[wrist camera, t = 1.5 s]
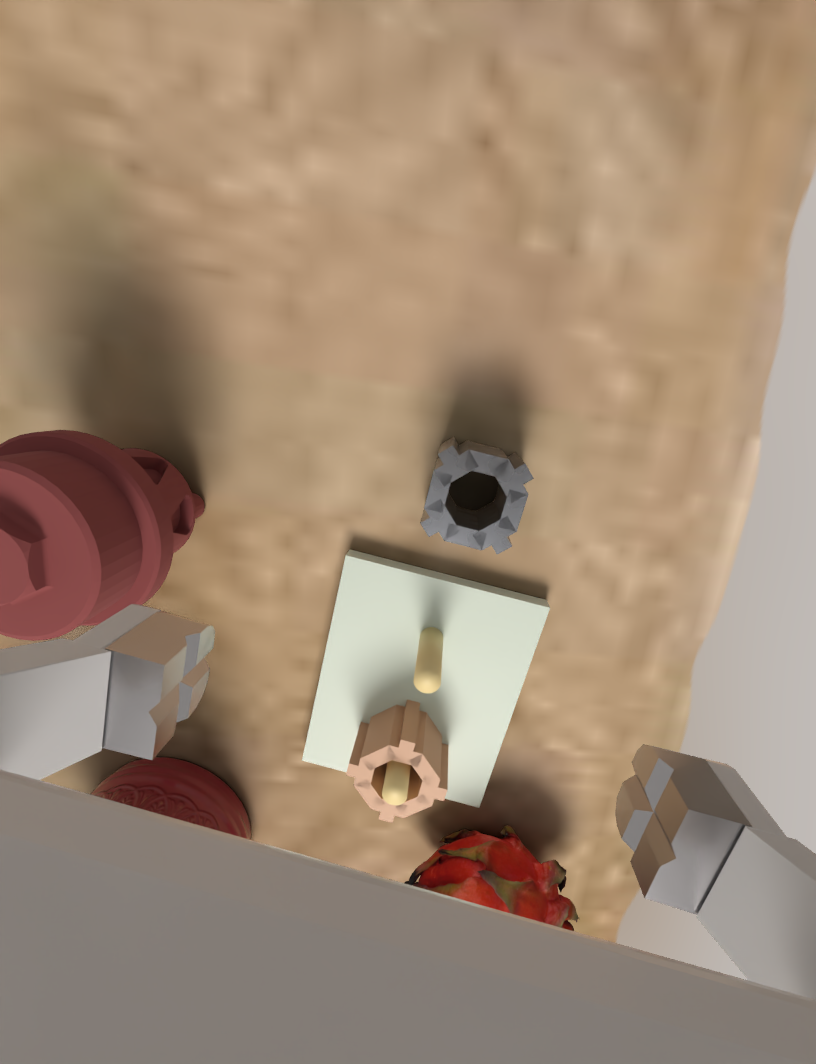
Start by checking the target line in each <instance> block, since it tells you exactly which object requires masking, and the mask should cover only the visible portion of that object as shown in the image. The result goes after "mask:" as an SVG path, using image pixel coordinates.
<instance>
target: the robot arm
mask: <svg viewBox="0 0 816 1064" xmlns="http://www.w3.org/2000/svg"><path fill="white" fill-rule="evenodd" d="M214 637H215V630H214V628H213V626H212V625H208V624H205V623H202V622H198V621H195V620H191V619H188V618H185V617H181V616H178V615H174V614H171V613H168V612H164V611H161V610H159V609H155V608H151V607H147V606H143V605H139V604H131V605H129V606H127V607H126V608H124V609H123V610H121V611H119V612H118V613H116V614H115V615H113V616H111V617H110V618H108V619H106V620H105V621H103V622H102V623H100V624H98V625H97V626H95V627H94V628H92V629H90V630H89V631H87V632H85V633H84V634H82V635H81V636H79V637H77V638H76V639H74V640H73V641H72V640H69V639H65V638H62V639H56V640H51V641H45V642H39V643H34V644H28V645H22V646H17V647H11V648H5V649H0V1064H816V854H815V853H813V852H812V851H811V850H809V849H808V848H807V847H805V846H804V845H803V844H801V843H800V842H799V841H797V840H795V839H792V838H788V837H786V835H785V834H784V833H783V832H782V830H781V829H780V827H779V826H778V825H777V823H776V822H775V821H774V820H773V818H772V817H771V816H770V814H769V813H768V812H767V810H766V809H765V808H764V807H763V805H762V804H761V803H760V801H759V800H758V799H757V797H756V796H755V795H754V793H753V792H752V791H751V790H750V788H749V787H748V786H747V784H746V783H745V782H744V780H743V779H742V778H741V777H740V775H739V774H738V773H737V771H736V770H735V769H734V768H732V767H731V766H729V765H727V764H724V763H720V762H715V761H711V760H707V759H702V758H698V757H694V756H690V755H686V754H682V753H678V752H674V751H670V750H666V749H662V748H658V747H654V746H649V745H644V744H643V745H642V746H641V747H640V748H639V749H638V750H637V752H636V754H635V756H634V759H633V761H632V765H633V768H634V771H635V774H636V775H634V776H632V777H631V778H629V779H627V780H626V781H624V782H623V783H622V786H621V788H620V791H619V793H618V796H617V802H616V813H615V814H616V821H617V827H618V830H619V833H620V835H621V838H622V839H623V841H624V842H625V843H626V844H627V845H628V846H629V847H630V848H631V849H632V850H633V851H634V854H633V857H632V859H631V861H630V862H631V864H632V867H633V870H634V872H635V875H636V877H637V880H638V883H639V885H640V888H641V890H642V893H643V895H644V898H645V899H649V900H652V901H655V902H658V903H661V904H665V905H668V906H671V907H674V908H677V909H680V910H684V911H687V912H690V913H693V914H697V919H698V920H699V921H700V922H701V923H702V925H703V926H704V927H705V928H706V929H707V931H708V932H709V933H710V934H711V935H712V937H713V938H714V939H715V940H716V942H717V943H718V944H719V945H720V947H721V948H722V949H723V950H724V951H725V953H726V954H727V955H728V956H729V957H730V959H731V960H732V961H733V962H734V963H735V965H736V966H737V967H738V968H739V970H740V971H741V972H742V973H743V974H744V976H745V977H746V978H747V979H748V980H744V979H741V978H737V977H734V976H730V975H726V974H723V973H720V972H716V971H712V970H709V969H705V968H702V967H698V966H694V965H691V964H688V963H684V962H680V961H677V960H674V959H670V958H666V957H663V956H659V955H655V954H652V953H649V952H645V951H642V950H638V949H635V948H631V947H627V946H624V945H620V944H617V943H613V942H610V941H606V940H603V939H599V938H596V937H592V936H589V935H585V934H581V933H578V932H574V931H571V930H567V929H564V928H560V927H557V926H553V925H550V924H546V923H543V922H539V921H535V920H532V919H528V918H525V917H521V916H518V915H514V914H511V913H507V912H504V911H500V910H496V909H493V908H489V907H486V906H482V905H479V904H475V903H472V902H468V901H465V900H461V899H458V898H454V897H451V896H447V895H443V894H440V893H436V892H433V891H429V890H426V889H422V888H419V887H415V886H412V885H408V884H405V883H401V882H398V881H394V880H390V879H387V878H383V877H380V876H376V875H373V874H369V873H366V872H362V871H359V870H355V869H352V868H348V867H345V866H341V865H337V864H334V863H330V862H327V861H323V860H320V859H316V858H313V857H309V856H306V855H302V854H299V853H295V852H292V851H288V850H284V849H281V848H277V847H274V846H270V845H267V844H263V843H260V842H256V841H253V840H249V839H246V838H242V837H239V836H235V835H231V834H228V833H224V832H221V831H217V830H214V829H210V828H207V827H203V826H200V825H196V824H193V823H189V822H186V821H182V820H178V819H175V818H171V817H168V816H164V815H161V814H157V813H154V812H150V811H147V810H143V809H140V808H136V807H133V806H129V805H126V804H122V803H118V802H115V801H111V800H108V799H104V798H101V797H97V796H94V795H90V794H87V793H83V792H80V791H76V790H73V789H69V788H65V787H62V786H58V785H55V784H51V783H48V782H44V781H41V780H40V779H42V778H45V777H47V776H49V775H51V774H53V773H55V772H57V771H59V770H62V769H64V768H66V767H68V766H70V765H72V764H74V763H76V762H79V761H81V760H83V759H85V758H87V757H89V756H91V755H93V754H96V753H98V752H100V751H101V750H102V748H104V749H108V750H112V751H117V752H121V753H125V754H129V755H133V756H137V757H141V758H145V759H149V760H153V759H154V758H155V757H156V755H157V754H158V753H159V752H160V751H161V749H162V748H163V747H164V746H165V745H166V744H167V742H168V741H169V740H170V739H171V738H172V737H173V735H174V734H175V727H176V723H177V722H179V721H182V720H185V719H187V718H189V716H190V715H191V714H192V713H193V711H194V710H195V709H196V708H197V706H198V704H199V702H200V700H201V698H202V696H203V694H204V691H205V688H206V685H207V682H208V677H209V671H210V668H209V666H208V664H207V662H206V660H205V658H204V657H205V656H206V655H207V654H208V653H209V652H210V651H211V650H212V648H213V645H214Z"/></svg>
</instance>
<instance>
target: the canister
mask: <svg viewBox="0 0 816 1064" xmlns="http://www.w3.org/2000/svg"><path fill="white" fill-rule="evenodd" d="M90 795H94V796H97V797H101V798H104V799H108V800H111V801H115V802H118V803H122V804H126V805H129V806H133V807H136V808H140V809H143V810H147V811H150V812H154V813H157V814H161V815H164V816H168V817H171V818H175V819H178V820H182V821H186V822H189V823H193V824H196V825H200V826H203V827H207V828H210V829H214V830H217V831H221V832H224V833H228V834H231V835H235V836H239V837H242V838H246V839H249V840H251V827H250V822H249V818H248V815H247V813H246V810H245V808H244V806H243V804H242V803H241V801H240V800H239V798H238V797H237V795H236V794H235V793H234V792H233V791H232V790H231V788H230V787H229V786H228V785H226V784H225V783H224V782H223V781H222V780H221V779H219V778H218V777H217V776H215V775H214V774H212V773H211V772H209V771H207V770H205V769H204V768H202V767H199V766H197V765H195V764H192V763H189V762H186V761H183V760H179V759H174V758H166V757H155V758H154V759H153V760H149V759H145V758H144V759H139V760H136V761H133V762H130V763H128V764H126V765H124V766H123V767H121V768H119V769H118V770H117V771H116V772H115V773H114V774H112V775H110V776H109V777H107V778H106V779H105V780H103V781H102V782H101V783H100V784H99V785H98V786H97V787H96V789H95V790H94V791H93V792H92V793H91V794H90Z"/></svg>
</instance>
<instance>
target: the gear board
mask: <svg viewBox="0 0 816 1064" xmlns="http://www.w3.org/2000/svg"><path fill="white" fill-rule="evenodd" d="M549 609H550V607H549V604H548V602H547V600H545V599H541V598H537V597H533V596H529V595H525V594H522V593H518V592H514V591H510V590H506V589H502V588H498V587H494V586H490V585H487V584H483V583H479V582H475V581H471V580H467V579H463V578H459V577H455V576H452V575H448V574H444V573H440V572H436V571H432V570H428V569H424V568H421V567H417V566H413V565H409V564H405V563H401V562H397V561H393V560H389V559H386V558H382V557H378V556H374V555H370V554H366V553H362V552H358V551H354V550H351V549H350V550H349V551H348V553H347V554H346V557H345V561H344V566H343V571H342V575H341V580H340V585H339V589H338V594H337V599H336V603H335V608H334V613H333V618H332V622H331V627H330V632H329V636H328V641H327V646H326V650H325V655H324V660H323V665H322V669H321V674H320V679H319V683H318V688H317V693H316V697H315V702H314V707H313V711H312V716H311V721H310V726H309V730H308V735H307V740H306V744H305V749H304V754H303V758H302V761H306V762H310V763H313V764H317V765H321V766H325V767H328V768H332V769H336V770H340V771H343V772H347V773H346V775H348V776H351V777H355V781H354V786H355V788H356V789H357V790H358V792H359V793H360V794H361V796H362V797H363V799H364V800H365V801H366V803H367V804H368V805H369V807H370V808H371V809H372V810H376V811H379V812H380V813H379V819H380V820H384V821H387V822H391V823H392V822H393V819H394V816H398V817H402V818H405V817H407V816H409V815H412V814H414V813H417V812H419V811H421V810H424V809H426V808H428V807H431V806H432V804H433V801H434V799H437V800H441V801H444V799H448V800H452V801H456V802H459V803H463V804H467V805H471V806H474V807H478V808H479V807H480V804H481V801H482V798H483V796H484V793H485V790H486V787H487V784H488V781H489V779H490V776H491V773H492V770H493V767H494V764H495V762H496V759H497V756H498V753H499V750H500V748H501V745H502V742H503V739H504V736H505V733H506V731H507V728H508V725H509V722H510V719H511V717H512V714H513V711H514V708H515V705H516V702H517V700H518V697H519V694H520V691H521V688H522V686H523V683H524V680H525V677H526V674H527V671H528V669H529V666H530V663H531V660H532V657H533V654H534V652H535V649H536V646H537V643H538V640H539V638H540V635H541V632H542V629H543V626H544V623H545V621H546V618H547V615H548V612H549Z"/></svg>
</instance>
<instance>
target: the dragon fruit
mask: <svg viewBox="0 0 816 1064" xmlns="http://www.w3.org/2000/svg"><path fill="white" fill-rule="evenodd" d="M500 834H502V835H503V836H504V838H503V839H499V838H496V837H493V836H490V835H486V834H481V833H480V832H478V831H475V830H474V831H468V829H463V830H461V831H458V832H454V833H452V834H450V835H448V836H445V837H443V838H442V839H441V840H440V842H445V843H450V844H447V845H443V846H442V847H440V848H439V849H438V850H437V851H436V852H435V853H434V854H433V855H432V856H431V857H430V858H429V859H428V860H427V861H425V862H423V864H421V865H420V866H418V867H417V868H416V869H415V871H414V872H413V873H412V875H411V877H410V878H409V881H406V882H405V884H408V885H413V886H415V887H419V888H422V889H426V890H429V891H433V892H436V893H440V894H443V895H447V896H451V897H454V898H458V899H461V900H465V901H468V902H472V903H475V904H479V905H482V906H486V907H489V908H493V909H496V910H500V911H504V912H507V913H511V914H514V915H518V916H521V917H525V918H528V919H532V920H535V921H539V922H543V923H546V924H550V925H553V926H557V927H560V928H564V929H567V930H571V931H574V929H573V926H572V925H571V923H570V922H568V920H576V922H577V919H578V915H577V913H576V909H575V906H574V904H573V903H572V902H571V901H570V899H568V898H566V897H563V896H562V895H559V894H558V888H557V887H559V890H560V892H561V891H562V889H563V888H564V887H565V883H566V876H565V875H566V870H565V869H564V868H563V867H561V866H560V865H559V863H558V862H557V861H556V860H552V861H548V862H544V863H542V864H541V863H540V862H538V861H537V860H536V859H535V857H534V856H533V855H532V854H531V853H530V851H529V850H528V849H527V848H526V847H525V846H524V845H523V844H522V842H521V840H520V839H519V837H518V835H517V834H516V833H515V832H514V830H513V828H512V827H511V826H504V828H503V829H502V831H501V833H500ZM420 875H421V876H420ZM419 876H420V879H419V882H416V880H417V879H418V877H419ZM415 882H416V883H415ZM579 920H580V919H579Z"/></svg>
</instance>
